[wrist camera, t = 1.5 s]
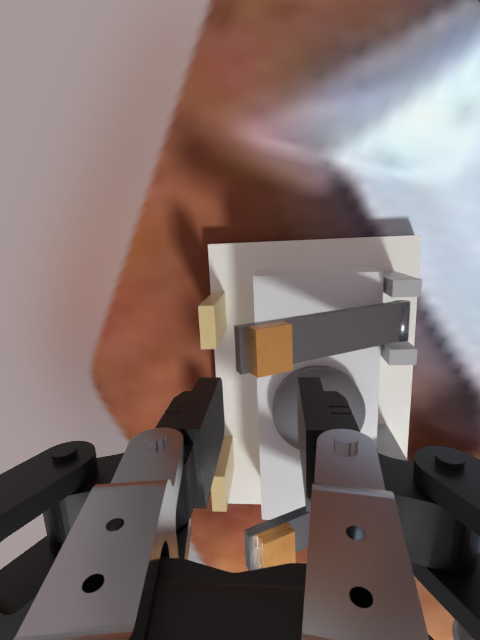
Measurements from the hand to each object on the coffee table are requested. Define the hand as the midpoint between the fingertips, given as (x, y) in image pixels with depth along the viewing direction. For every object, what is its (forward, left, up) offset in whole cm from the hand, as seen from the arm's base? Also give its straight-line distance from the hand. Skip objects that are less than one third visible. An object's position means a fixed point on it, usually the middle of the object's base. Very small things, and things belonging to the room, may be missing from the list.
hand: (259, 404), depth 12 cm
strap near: (0, +3, -9) cm, 10 cm away
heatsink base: (+6, +3, -17) cm, 18 cm away
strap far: (+12, +3, -9) cm, 16 cm away
